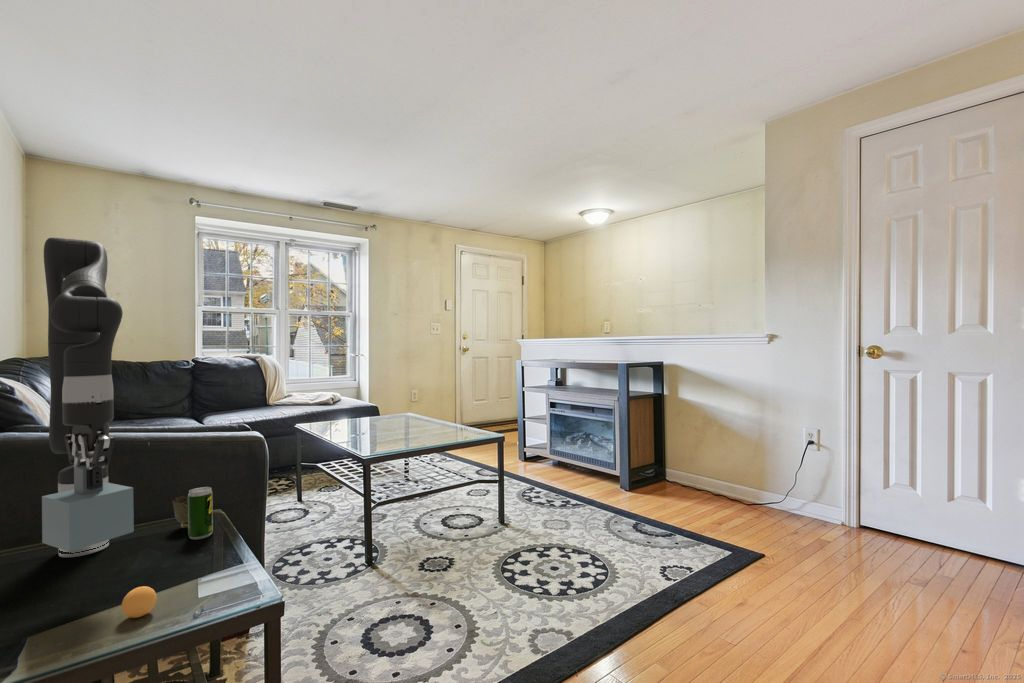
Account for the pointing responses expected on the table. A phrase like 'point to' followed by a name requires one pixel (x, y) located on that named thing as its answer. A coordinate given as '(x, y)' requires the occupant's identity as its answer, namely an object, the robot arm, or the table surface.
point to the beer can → (200, 513)
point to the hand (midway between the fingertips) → (89, 486)
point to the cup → (181, 510)
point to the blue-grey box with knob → (86, 514)
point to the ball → (139, 601)
